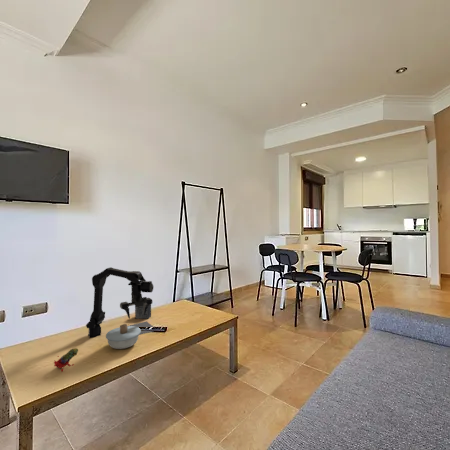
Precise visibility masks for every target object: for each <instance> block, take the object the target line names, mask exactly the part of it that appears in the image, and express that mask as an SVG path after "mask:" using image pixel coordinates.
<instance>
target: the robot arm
mask: <svg viewBox="0 0 450 450" xmlns="http://www.w3.org/2000/svg"><path fill="white" fill-rule="evenodd" d="M110 276H115V277H118V278H123V279H126V280H128V281H129V283H128V284H127V285H128V286H130V287H131V294H130V295H131V299H130V301H131V302H128V301H122V302H119V308H120V309H121V310H124V312H125V313H126V315H127V317H128V319H129V320H130V318H131V315H130V308H129V307H131V306H134V307H135V306H136V307H139V306H143V315H145V313H146V310H147V307H148V306H149V305H150V304H151V305H153V299H152V298H150V297H147V296H144V297H143V294H142V293H152V292H153V291H154V284H153V281H152V280H149V281H147V280H146V279H145V277H144V276H143V274H142V272H141V271H139V270H138V271H136V270H135V271H134V270H133V271H128V270H123V269H118V268H114V267H107V268H105V269H104V270H102V271H101V272H100V273H97V274H94V275H93V276H92V277H91V283H92V286H93V288H94V290H93V292H94V293H93V311H92V312H91V314H90V318H89V321H88V322H87V323H86V324H85V327H86V329H88V338H89V339H93V338H96V337H99V336H101V335H102V327H101V325H102V323H103V322H104V320H105V319H106V311H103V296H104V295H103V292H104V286H105V284H106V281H107V279H108V277H110Z"/></svg>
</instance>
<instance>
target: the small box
mask: <svg viewBox="0 0 450 450" xmlns="http://www.w3.org/2000/svg"><path fill="white" fill-rule="evenodd" d="M134 308H135V309H134V315H135V318H134V319H136V320H138V319H139V320H149V319H150V318H152V304H150V305H149V306H148V307H147V310H146V313H145V315H143V306H139V307H136V306H135V305H134Z"/></svg>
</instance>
